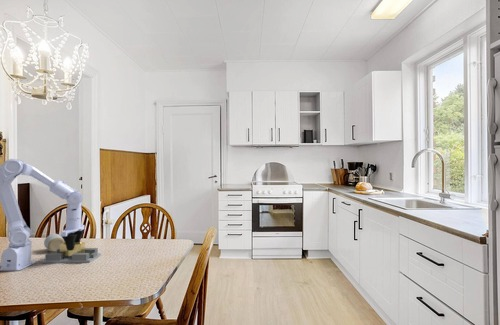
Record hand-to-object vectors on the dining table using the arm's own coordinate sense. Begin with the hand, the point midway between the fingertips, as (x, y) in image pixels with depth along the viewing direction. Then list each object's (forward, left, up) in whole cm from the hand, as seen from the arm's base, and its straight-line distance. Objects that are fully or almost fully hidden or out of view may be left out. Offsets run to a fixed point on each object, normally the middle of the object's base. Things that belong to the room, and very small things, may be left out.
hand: (72, 248), depth 123 cm
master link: (0, 0, -2) cm, 3 cm away
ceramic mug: (+14, +15, -5) cm, 21 cm away
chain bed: (0, 0, -4) cm, 4 cm away
